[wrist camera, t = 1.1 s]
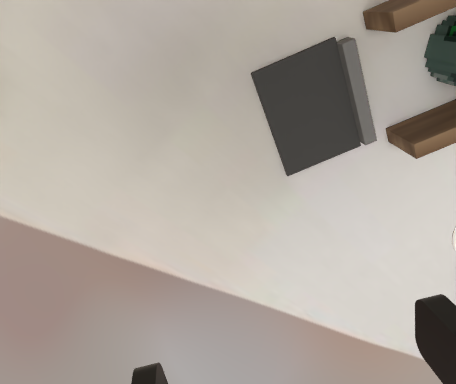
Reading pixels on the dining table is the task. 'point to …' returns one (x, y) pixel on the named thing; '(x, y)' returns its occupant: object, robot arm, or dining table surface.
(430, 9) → the lane
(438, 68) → the can
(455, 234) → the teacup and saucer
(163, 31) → the dining table surface
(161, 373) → the robot arm
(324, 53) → the mat
